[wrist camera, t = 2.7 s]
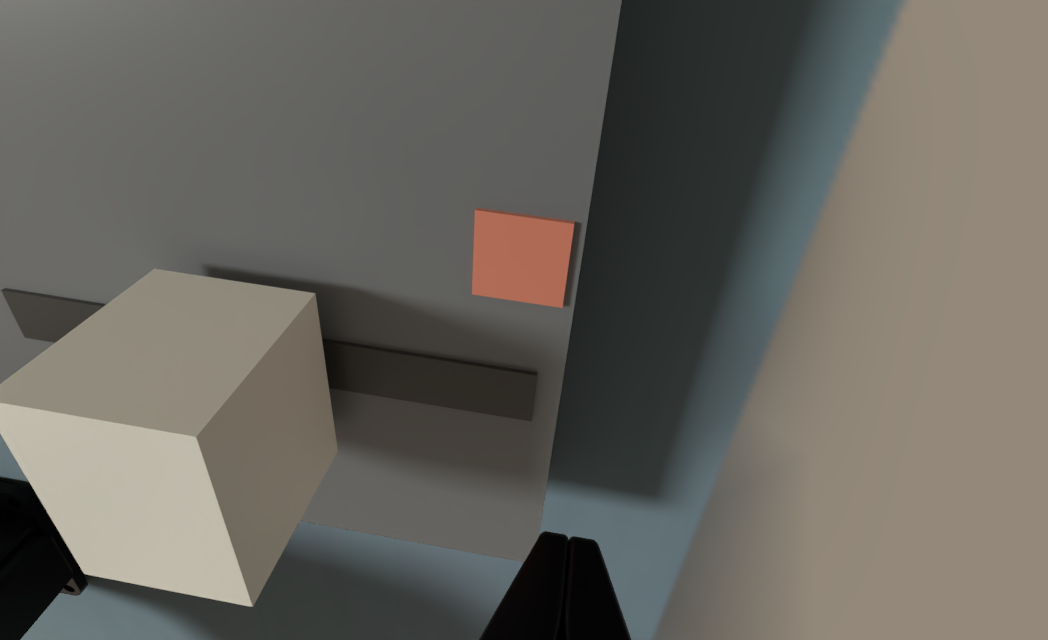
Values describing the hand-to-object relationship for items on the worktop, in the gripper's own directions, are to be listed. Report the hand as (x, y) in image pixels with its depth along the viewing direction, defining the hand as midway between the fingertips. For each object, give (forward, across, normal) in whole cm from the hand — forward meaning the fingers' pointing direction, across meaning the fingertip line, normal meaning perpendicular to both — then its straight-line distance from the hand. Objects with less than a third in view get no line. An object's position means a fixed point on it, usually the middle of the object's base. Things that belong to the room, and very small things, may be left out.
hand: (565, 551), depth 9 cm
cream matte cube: (+3, +6, 0) cm, 7 cm away
